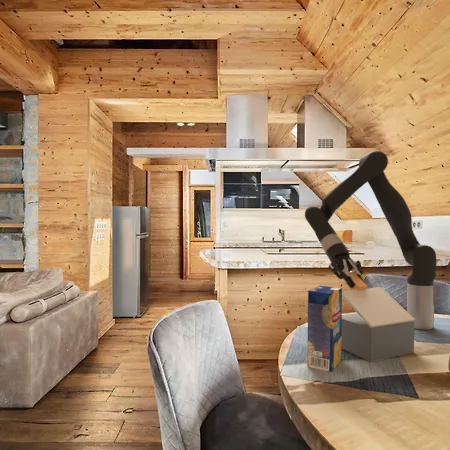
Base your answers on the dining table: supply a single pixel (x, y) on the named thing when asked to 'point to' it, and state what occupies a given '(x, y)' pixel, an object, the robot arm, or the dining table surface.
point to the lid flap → (375, 305)
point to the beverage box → (324, 327)
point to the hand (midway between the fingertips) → (357, 286)
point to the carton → (376, 338)
